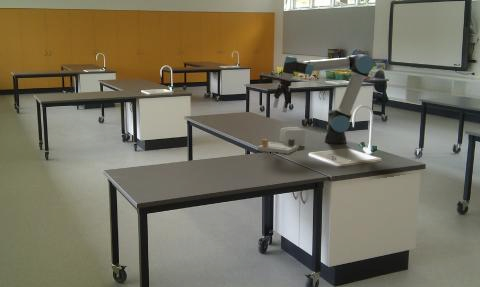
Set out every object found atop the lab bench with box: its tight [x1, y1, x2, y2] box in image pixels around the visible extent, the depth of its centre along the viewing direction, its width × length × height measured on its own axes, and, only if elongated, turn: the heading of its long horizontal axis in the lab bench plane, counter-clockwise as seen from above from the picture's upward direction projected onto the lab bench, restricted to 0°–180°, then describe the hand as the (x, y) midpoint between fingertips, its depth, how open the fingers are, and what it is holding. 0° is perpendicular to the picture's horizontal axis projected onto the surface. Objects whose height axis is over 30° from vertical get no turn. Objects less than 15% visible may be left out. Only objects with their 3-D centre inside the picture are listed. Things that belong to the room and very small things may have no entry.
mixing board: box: [257, 141, 300, 155], centre depth 352 cm, size 22×17×3 cm
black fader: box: [288, 138, 295, 146], centre depth 353 cm, size 3×3×4 cm
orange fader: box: [261, 138, 269, 146], centre depth 350 cm, size 3×3×4 cm
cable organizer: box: [279, 126, 306, 147], centre depth 366 cm, size 15×11×12 cm
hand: (279, 109), depth 361 cm, fingers open, 13 cm apart
